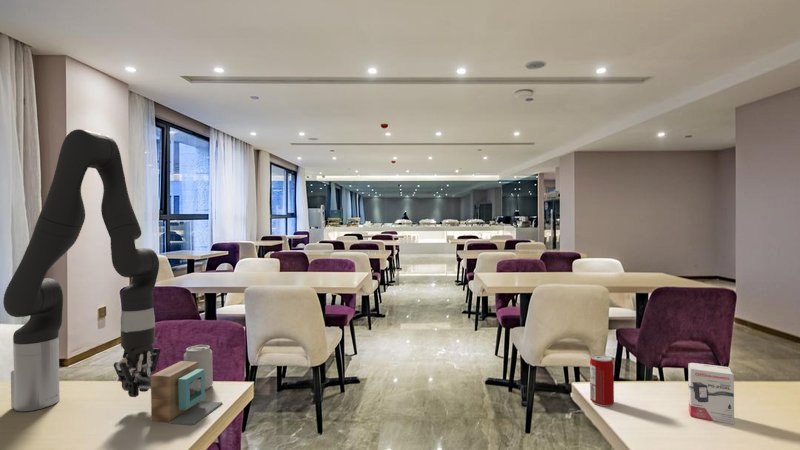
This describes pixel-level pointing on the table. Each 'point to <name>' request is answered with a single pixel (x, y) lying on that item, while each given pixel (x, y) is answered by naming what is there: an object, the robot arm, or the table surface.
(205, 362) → the can
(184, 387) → the spacer
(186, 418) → the mat
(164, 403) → the bearing block
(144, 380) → the shaft
